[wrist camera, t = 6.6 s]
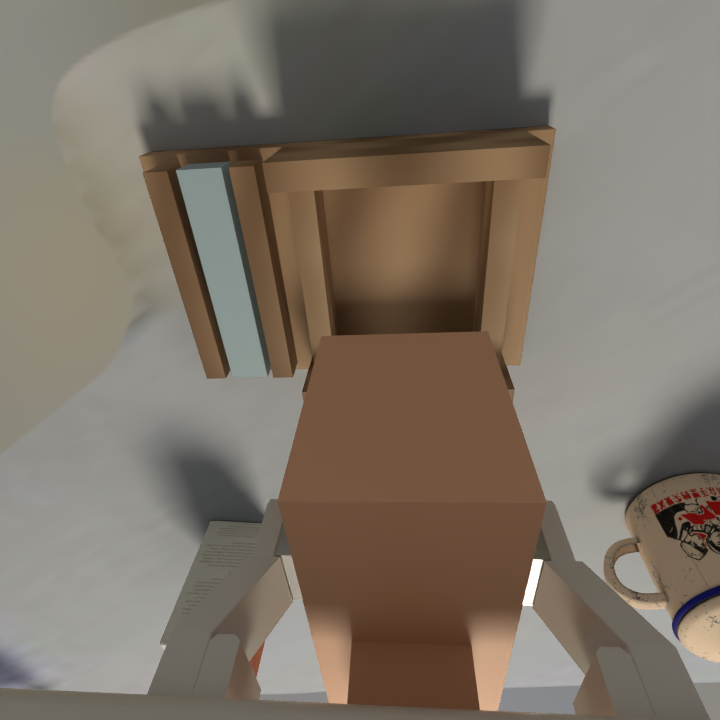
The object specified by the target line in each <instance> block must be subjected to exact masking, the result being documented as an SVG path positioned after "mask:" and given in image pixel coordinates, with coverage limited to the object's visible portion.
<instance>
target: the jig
mask: <svg viewBox="0 0 720 720" xmlns="http://www.w3.org/2000/svg"><path fill="white" fill-rule="evenodd" d="M555 131H556V129H555V128H552V127H550V126H537V127H522V128H507V129H492V130H477V131H462V132H447V133H431V134H416V135H401V136H386V137H371V138H356V139H341V140H326V141H310V142H295V143H280V144H265V145H250V146H235V147H220V148H205V149H189V150H174V151H159V152H149V153H146V154H144V155H141V156H139V158H140V161H141V164H142V167H143V171H144V172H143V176H144V179H145V182H146V185H147V188H148V192H149V195H150V198H151V201H152V204H153V208H154V211H155V214H156V217H157V220H158V223H159V227H160V230H161V233H162V236H163V239H164V243H165V246H166V249H167V252H168V255H169V259H170V262H171V265H172V268H173V271H174V275H175V278H176V281H177V284H178V287H179V290H180V294H181V297H182V300H183V303H184V306H185V310H186V313H187V316H188V319H189V322H190V326H191V329H192V332H193V335H194V338H195V342H196V345H197V348H198V351H199V354H200V358H201V361H202V364H203V367H204V370H205V373H206V377H207V379H209V378H226V377H227V375H228V373H229V371H230V370H231V369H230V366H229V362H228V358H227V355H226V351H225V348H224V344H223V340H222V337H221V333H220V329H219V326H218V322H217V318H216V315H215V311H214V307H213V304H212V300H211V297H210V293H209V289H208V286H207V282H206V278H205V275H204V271H203V267H202V264H201V260H200V256H199V253H198V249H197V246H196V242H195V238H194V235H193V231H192V227H191V224H190V220H189V216H188V213H187V209H186V205H185V202H184V198H183V195H182V191H181V187H180V184H179V180H178V176H177V173H176V170H178V169H179V168H181V167H183V166H185V165H187V164H198V163H214V162H230V161H231V165H232V166H230V167H229V172H230V176H231V181H232V186H233V190H234V195H235V200H236V204H237V209H238V214H239V219H240V223H241V228H242V233H243V237H244V242H245V247H246V251H247V256H248V261H249V265H250V270H251V275H252V279H253V284H254V289H255V293H256V298H257V303H258V307H259V312H260V317H261V321H262V326H263V331H264V335H265V340H266V345H267V349H268V354H269V359H270V363H271V369H272V373H273V378H274V377H293V375H294V372H295V369H309V370H308V373H307V377H306V380H305V384H304V387H303V391H302V394H303V400H305V396H306V392H307V388H308V385H309V381H310V377H311V373H312V369H313V366H314V362H315V358H316V354H317V351H318V347H319V343H320V339H321V336H340V335H375V334H410V333H445V332H480V331H488V333H489V336H490V339H491V341H492V344H493V347H494V350H495V353H496V356H497V359H498V362H499V365H500V368H501V371H502V374H503V377H504V379H505V382H506V385H507V388H508V391H509V394H510V397H511V400H512V403H513V396H514V390H515V389H514V387H513V384H512V381H511V378H510V375H509V372H508V369H507V367H506V365H520V363H521V356H522V349H523V343H524V336H525V330H526V323H527V316H528V310H529V303H530V297H531V290H532V283H533V277H534V270H535V264H536V257H537V250H538V244H539V237H540V230H541V224H542V217H543V211H544V204H545V197H546V191H547V184H548V178H549V171H550V164H551V158H552V151H553V144H554V138H555Z"/></svg>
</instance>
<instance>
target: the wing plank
mask: <svg viewBox="0 0 720 720" xmlns="http://www.w3.org/2000/svg"><path fill="white" fill-rule="evenodd" d="M230 166H232V165H231V161H230V162H214V163H198V164H187V165H185V166H183V167H181V168H179V169H178V170H176V173H177V176H178V180H179V184H180V187H181V191H182V195H183V198H184V202H185V205H186V209H187V213H188V216H189V220H190V224H191V227H192V231H193V235H194V238H195V242H196V246H197V249H198V253H199V256H200V260H201V264H202V267H203V271H204V275H205V278H206V282H207V286H208V289H209V293H210V297H211V300H212V304H213V307H214V311H215V315H216V318H217V322H218V326H219V329H220V333H221V337H222V340H223V344H224V348H225V351H226V355H227V358H228V362H229V366H230V369H231V373H232V377H268V374H269V372H270V369H271V363H270V359H269V354H268V349H267V345H266V340H265V335H264V331H263V326H262V321H261V317H260V312H259V307H258V303H257V298H256V293H255V289H254V284H253V279H252V275H251V270H250V265H249V261H248V256H247V251H246V247H245V242H244V237H243V233H242V228H241V223H240V219H239V214H238V209H237V204H236V200H235V195H234V190H233V186H232V181H231V176H230V172H229V167H230Z"/></svg>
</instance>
